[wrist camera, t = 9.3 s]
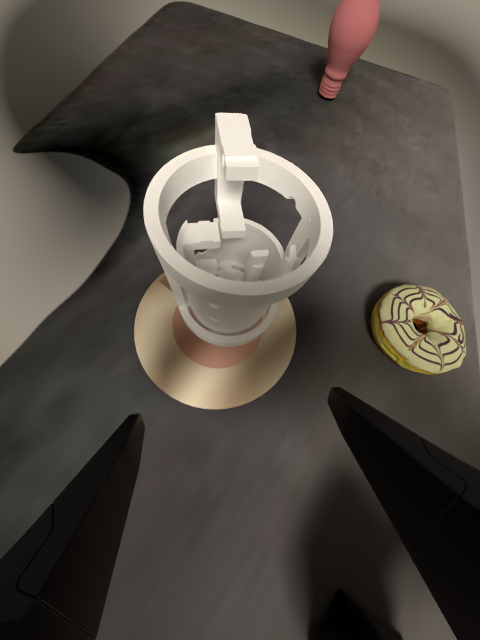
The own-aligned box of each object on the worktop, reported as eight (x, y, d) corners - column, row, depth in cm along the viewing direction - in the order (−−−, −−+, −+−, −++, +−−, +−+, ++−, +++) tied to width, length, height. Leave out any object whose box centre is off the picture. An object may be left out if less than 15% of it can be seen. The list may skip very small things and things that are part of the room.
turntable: (319, 316, 24) (323, 313, 22) (231, 447, 18) (232, 451, 17) (209, 236, 25) (209, 230, 24) (101, 335, 20) (95, 333, 19)
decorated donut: (455, 333, 27) (491, 324, 24) (418, 394, 24) (454, 395, 20) (391, 279, 29) (416, 263, 25) (348, 329, 25) (370, 320, 22)
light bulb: (329, 113, 39) (376, 2, 28) (301, 93, 40) (335, -22, 29) (349, 101, 42) (400, -7, 30) (322, 83, 43) (361, -28, 31)
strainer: (251, 287, 22) (318, 113, 8) (265, 352, 20) (383, 266, 6) (185, 294, 21) (129, 104, 7) (191, 363, 19) (132, 288, 5)
